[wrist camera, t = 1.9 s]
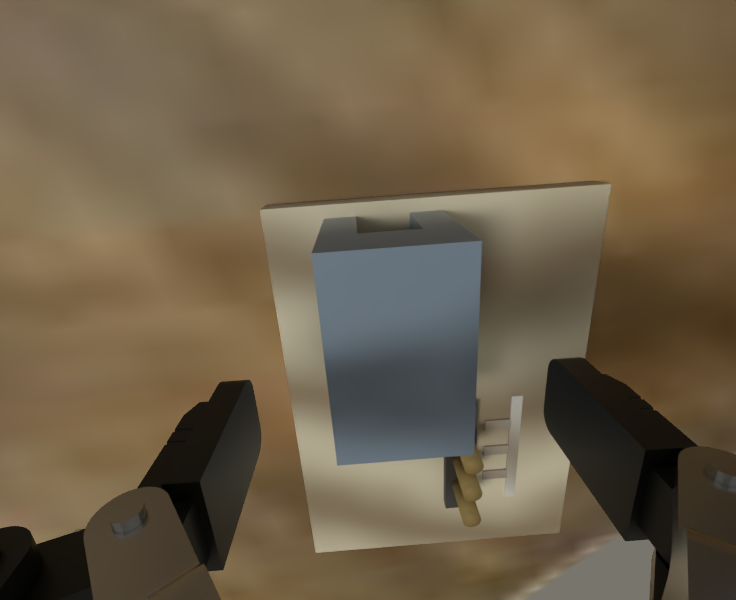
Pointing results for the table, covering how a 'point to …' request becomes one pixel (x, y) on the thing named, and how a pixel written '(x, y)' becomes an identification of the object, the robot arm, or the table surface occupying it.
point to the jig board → (494, 366)
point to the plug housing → (399, 337)
